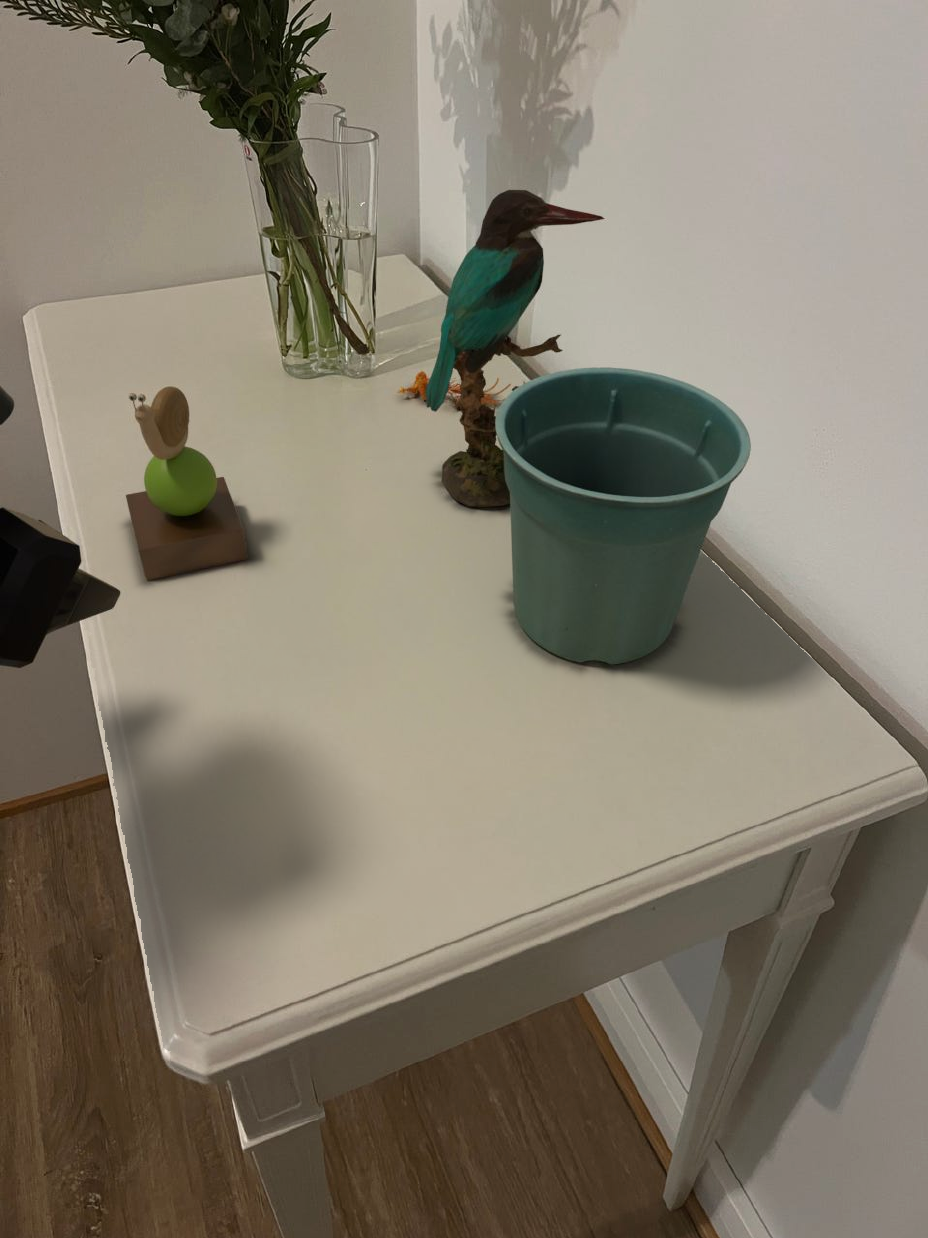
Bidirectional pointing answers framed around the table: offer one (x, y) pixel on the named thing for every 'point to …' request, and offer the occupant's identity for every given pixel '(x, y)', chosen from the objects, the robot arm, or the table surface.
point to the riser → (187, 535)
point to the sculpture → (490, 333)
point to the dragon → (423, 381)
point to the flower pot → (611, 503)
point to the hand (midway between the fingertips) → (65, 564)
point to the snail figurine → (173, 456)
